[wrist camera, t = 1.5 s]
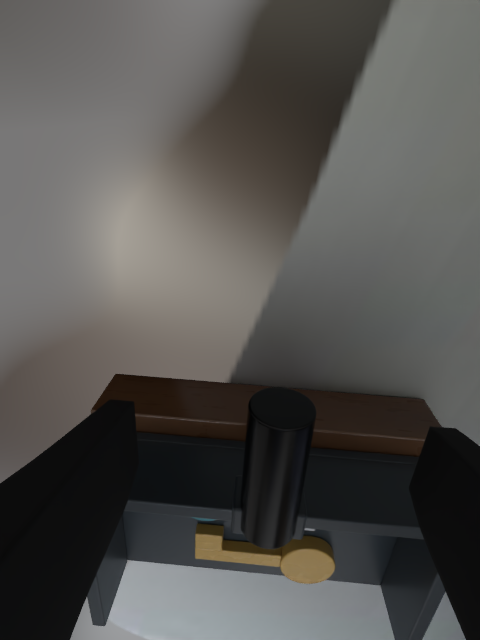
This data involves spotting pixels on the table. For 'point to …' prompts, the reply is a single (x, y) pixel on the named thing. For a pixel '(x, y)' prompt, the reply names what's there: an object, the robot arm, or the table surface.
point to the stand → (232, 407)
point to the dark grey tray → (277, 508)
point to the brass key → (269, 554)
